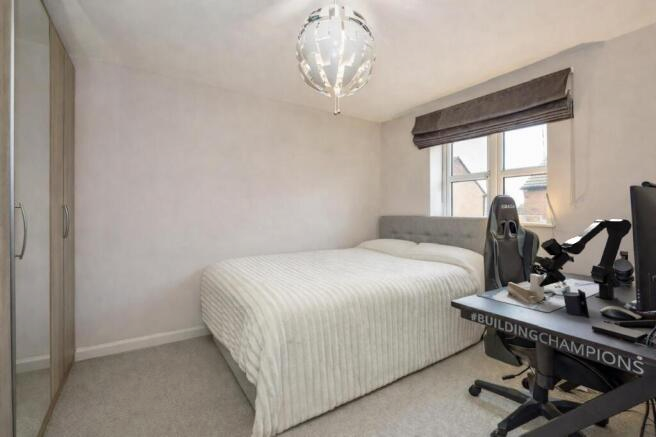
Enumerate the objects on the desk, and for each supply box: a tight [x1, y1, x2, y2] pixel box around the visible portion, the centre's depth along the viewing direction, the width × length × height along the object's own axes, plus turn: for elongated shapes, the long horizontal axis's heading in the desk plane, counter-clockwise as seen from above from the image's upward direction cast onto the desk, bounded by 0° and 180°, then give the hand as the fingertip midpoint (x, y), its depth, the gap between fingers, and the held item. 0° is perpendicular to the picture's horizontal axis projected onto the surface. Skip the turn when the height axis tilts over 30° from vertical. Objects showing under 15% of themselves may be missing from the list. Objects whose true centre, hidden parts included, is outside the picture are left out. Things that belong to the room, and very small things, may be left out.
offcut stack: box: [525, 287, 536, 296], centre depth 148 cm, size 4×10×4 cm, turn 178°
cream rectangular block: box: [529, 273, 545, 299], centre depth 147 cm, size 3×6×12 cm, turn 178°
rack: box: [507, 281, 547, 304], centre depth 147 cm, size 12×16×6 cm
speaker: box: [562, 288, 590, 319], centre depth 124 cm, size 8×6×10 cm
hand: (534, 284), depth 147 cm, fingers open, 8 cm apart
